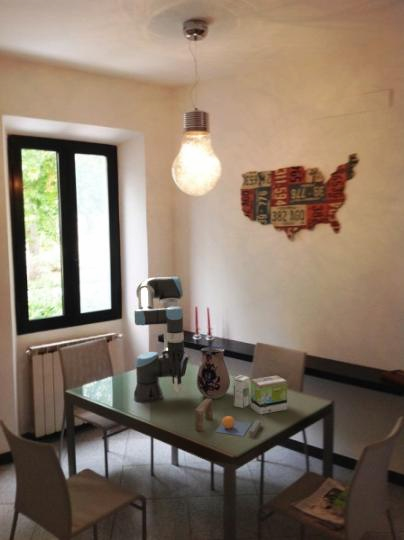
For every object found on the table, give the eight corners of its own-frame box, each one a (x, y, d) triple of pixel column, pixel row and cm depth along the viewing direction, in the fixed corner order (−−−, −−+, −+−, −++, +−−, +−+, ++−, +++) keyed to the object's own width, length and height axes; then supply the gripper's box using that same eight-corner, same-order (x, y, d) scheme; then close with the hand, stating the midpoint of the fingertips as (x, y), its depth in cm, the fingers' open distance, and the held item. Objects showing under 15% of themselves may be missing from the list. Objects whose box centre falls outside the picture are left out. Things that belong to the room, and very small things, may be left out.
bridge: (195, 430, 217) (194, 410, 216) (206, 417, 230) (206, 398, 229) (201, 431, 216) (200, 411, 215) (212, 418, 229) (212, 399, 228)
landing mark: (214, 432, 214) (214, 431, 214) (224, 420, 226) (224, 419, 226) (243, 436, 210) (243, 435, 210) (251, 424, 222) (251, 423, 222)
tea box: (261, 415, 231) (260, 385, 229) (250, 408, 240) (250, 379, 238) (288, 409, 237) (287, 380, 235) (276, 402, 246) (276, 374, 244)
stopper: (249, 436, 209) (249, 431, 209) (256, 425, 220) (256, 419, 220) (253, 437, 208) (253, 431, 208) (260, 425, 220) (260, 420, 219)
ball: (234, 424, 213) (227, 433, 215) (238, 419, 218) (232, 428, 220) (224, 415, 215) (218, 425, 217) (229, 411, 220) (222, 420, 222)
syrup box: (240, 402, 248) (239, 374, 246) (249, 405, 244) (249, 376, 242) (233, 405, 243) (232, 377, 242) (243, 408, 239) (242, 380, 238)
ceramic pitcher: (193, 400, 252) (191, 353, 249) (203, 386, 272) (202, 342, 269) (226, 403, 247) (225, 355, 244) (234, 388, 267) (233, 344, 264)
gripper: (159, 341, 223) (160, 391, 225) (185, 343, 218) (186, 394, 220) (166, 337, 229) (167, 386, 232) (191, 339, 225) (193, 389, 227)
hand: (177, 390), depth 226 cm, fingers closed
